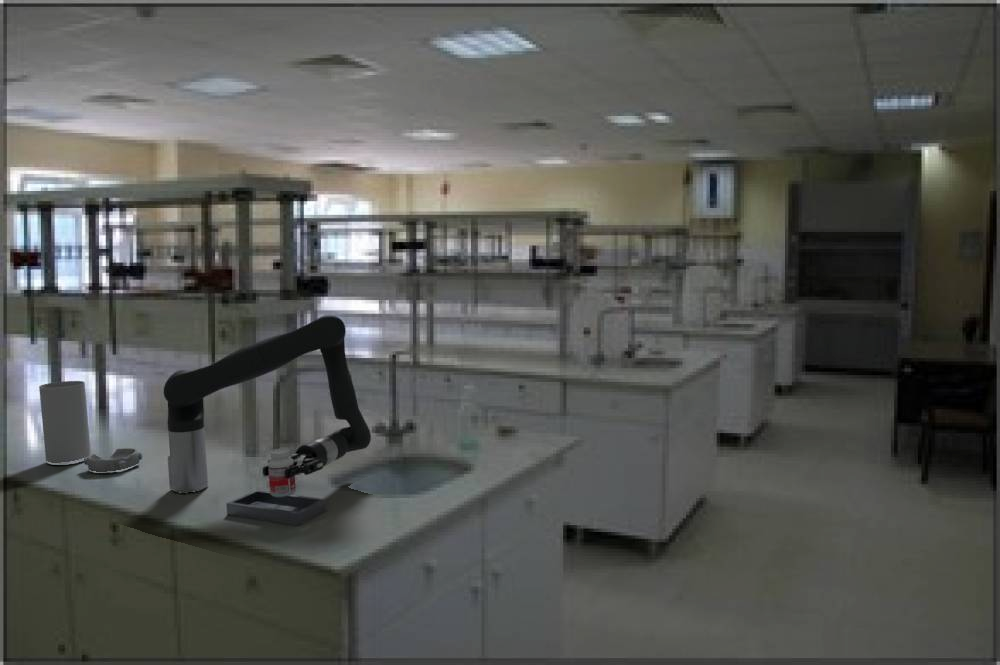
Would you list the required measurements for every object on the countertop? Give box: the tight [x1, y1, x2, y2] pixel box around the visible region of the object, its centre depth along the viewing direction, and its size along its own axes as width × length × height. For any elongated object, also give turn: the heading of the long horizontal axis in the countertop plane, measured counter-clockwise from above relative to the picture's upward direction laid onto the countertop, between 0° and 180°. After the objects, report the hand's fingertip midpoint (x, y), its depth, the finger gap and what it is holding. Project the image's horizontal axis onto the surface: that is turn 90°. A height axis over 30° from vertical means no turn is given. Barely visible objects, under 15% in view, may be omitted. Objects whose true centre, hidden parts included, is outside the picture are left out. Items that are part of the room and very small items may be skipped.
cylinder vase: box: [38, 380, 92, 463], centre depth 237 cm, size 12×12×25 cm
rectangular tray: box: [225, 489, 327, 527], centre depth 187 cm, size 22×11×3 cm, turn 67°
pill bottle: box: [267, 447, 297, 497], centre depth 185 cm, size 6×6×11 cm
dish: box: [83, 447, 143, 472], centre depth 229 cm, size 14×14×5 cm
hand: (275, 473), depth 183 cm, fingers closed on pill bottle, 6 cm apart
